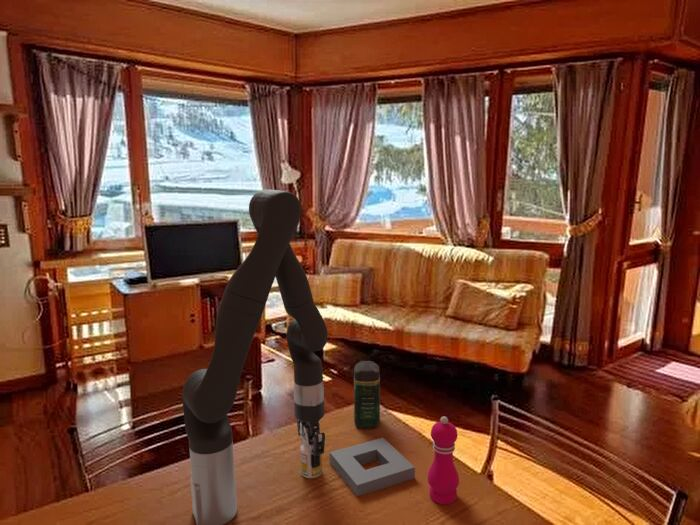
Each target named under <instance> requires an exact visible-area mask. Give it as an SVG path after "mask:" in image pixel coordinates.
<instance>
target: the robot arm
mask: <svg viewBox="0 0 700 525" xmlns="http://www.w3.org/2000/svg"><path fill="white" fill-rule="evenodd" d="M248 214H249V217H250V220H251V223H252V226H254V229H255V231H256V233H257V236H256V239H255V242H254V244H253V247H252V249H251V251H249V254H248V255H247V256H246V258H245V259H244V261H243V260H242V262H241V263H240V265H239V266H238V267H237V269H236V270H235V272H234V273H233V274H232V276H231V277H230V278H229V279H228V282H227V284H226V286H225V289H224V292H223V295H222V297H221V300H220V303H219V304H218V309H217V313H216V321H215V328H214V329H215V332H214V344H213V345H214V346H213V352H212V354H211V357H210V361H209V364H208V366H207V368H201V369H198V370H195V371H194V372H192V373H191V374H190V375H189V376H188V377H187V379H186V380H185V382H184V384H183V388H182V395H181V397H182V407H183V408H182V410H183V417H184V418H183V419H184V427H185V428H184V429H185V432H186V436H187V438H188V447H189V448H188V449H189V460H190V461H189V462H190V475H189V478H190V480H189V482H190V490H191V491H190V493H191V502H192V503H191V505H192V514H193V518H194V520H195V524H196V525H225V524H228V523H229V522H231V521H232V520H233V519H234V517H235V516H236V515H237V513H238V512H237V511H238V507H237V506H238V502H237V500H238V499H237V487H236V486H237V485H236V474H235V473H236V470H235V458H234V455H235V454H234V442H233V441H234V440H233V436H234V435H233V430H232V428H233V427H232V426H231V423H230V420H229V418H228V414H229V413H230V411H231V410H232V408H233V406H234V403H235V400H236V397H237V393H238V389H239V384H240V381H241V376H242V374H243V369H244V365H245V362H246V359H247V356H248V353H249V350H250V348H251V345H252V343H253V340H254V337H255V334H256V331H257V329H258V326H259V323H260V321H261V318H262V316H263V313H264V311H265V308H266V305H267V301H268V298H269V296H270V292H271V289H272V286H273V284H274V281H275V279H276V282H277V286H278V290H279V293H280V296H281V299H282V305H283V307H284V310H285V312H286V314H288V315H289V317H291V318H292V320H291V321H290V322H289V324H288V326H287V329H286V344H287V347H288V350H289V354H290V359H291V361H292V364H293V380H294V382H293V384H294V385H293V406H294V407H293V408H294V409H293V410H294V412H293V414H294V417H295V419H296V426H297V435H298V437H300V441H301V445H302V444H303V442H302V438H303V436H304V435H306V440H307V444H308V445H309V446H310V453H311V466H312V468H315V467H318V466H320V454H322V455H323V454H325V442H326V434H325V432H321V430H322V429H321V424H320V423H319V422H320V420H321V419H323V418H324V416H325V411H326V410H325V408H326V407H325V387H324V379H323V378H324V376H323V375H324V374H323V372H324V371H323V361H322V359H321V358H320V357H319V356H318V355H317V354H315V352H319V351H321V350H322V349H323V348H324V347H325V346H326V344H327V342H328V337H329V334H328V328H327V325H326V321H325V320H324V318H323V316H322V314H321V313H320V310H319V308H318V307H317V305H316V304H315V301H314V297H313V293H312V290H311V286H310V283H309V279H308V277H307V274H306V272H305V270H304V268H303V266H302V264H301V263H300V261H299V259H298V256H296V254H295V252H294V250H293V248H292V246H291V244H290V243H291V241H292V239H293V237H294V235H295V233H296V231H297V228H298V226H299V223H300V220H301V217H302V204H301V201H300V199H299V198H298V197H297V196H296V195H295V194H294V193H293V192H290V191H287V190H279V189H278V190H277V189H270V188H269V189H267V188H266V189H261V190H258V191H257V192H256V193H254V194H253V196H252V197H251V198H250V201H249V203H248ZM310 439H314V440H313V441H310Z"/></svg>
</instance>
